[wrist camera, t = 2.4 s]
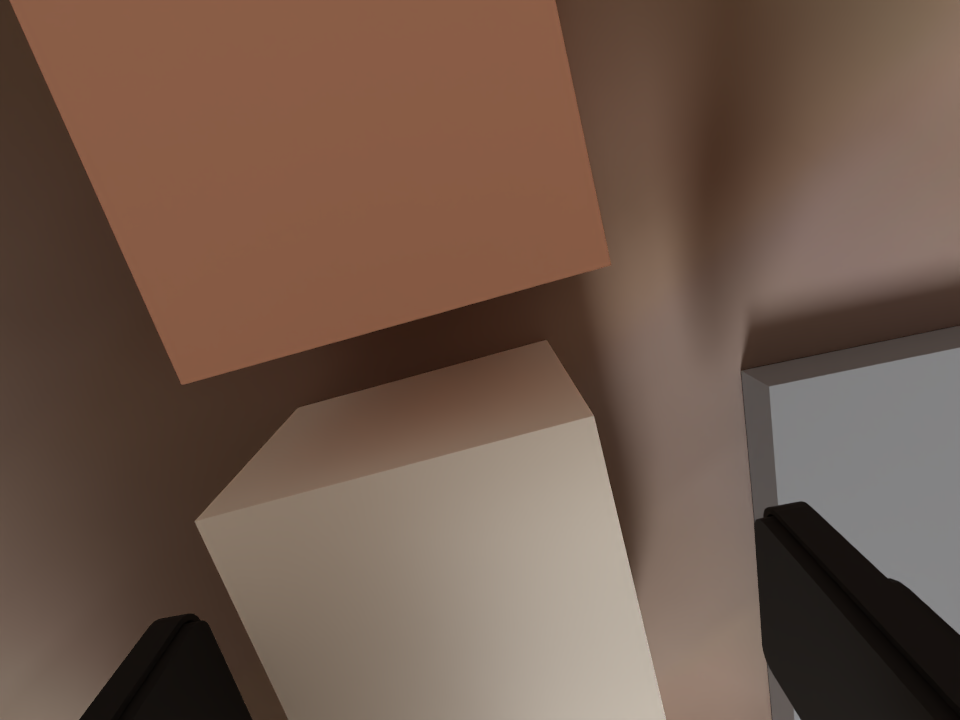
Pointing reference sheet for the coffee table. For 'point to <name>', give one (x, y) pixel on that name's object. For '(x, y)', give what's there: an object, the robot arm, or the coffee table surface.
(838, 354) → the build board
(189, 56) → the terracotta block
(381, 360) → the coffee table surface
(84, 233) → the coffee table surface
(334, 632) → the cream block
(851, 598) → the robot arm
